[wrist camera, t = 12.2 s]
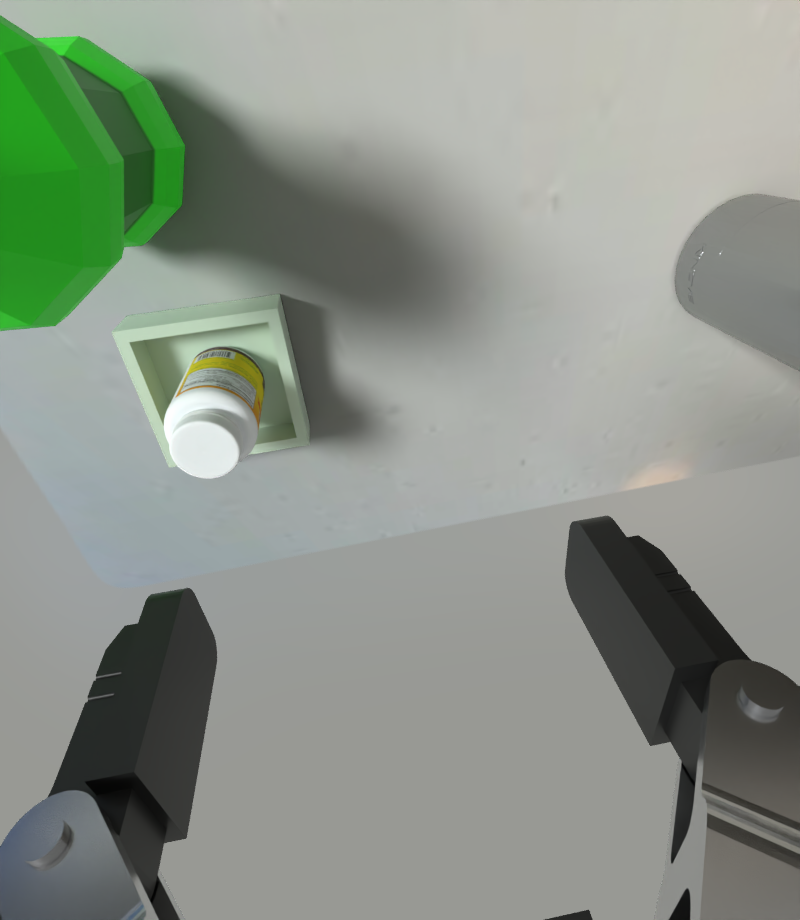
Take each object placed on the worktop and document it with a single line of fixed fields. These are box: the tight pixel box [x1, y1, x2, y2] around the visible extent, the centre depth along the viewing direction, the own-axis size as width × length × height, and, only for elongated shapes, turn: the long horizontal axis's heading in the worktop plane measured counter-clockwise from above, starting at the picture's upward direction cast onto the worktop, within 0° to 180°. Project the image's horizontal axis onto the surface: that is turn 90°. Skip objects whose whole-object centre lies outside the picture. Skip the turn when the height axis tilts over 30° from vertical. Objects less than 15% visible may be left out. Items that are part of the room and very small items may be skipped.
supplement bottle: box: [164, 346, 265, 478], centre depth 35 cm, size 6×6×10 cm
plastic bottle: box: [0, 16, 185, 331], centre depth 21 cm, size 10×11×25 cm
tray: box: [112, 294, 310, 468], centre depth 38 cm, size 11×11×3 cm
